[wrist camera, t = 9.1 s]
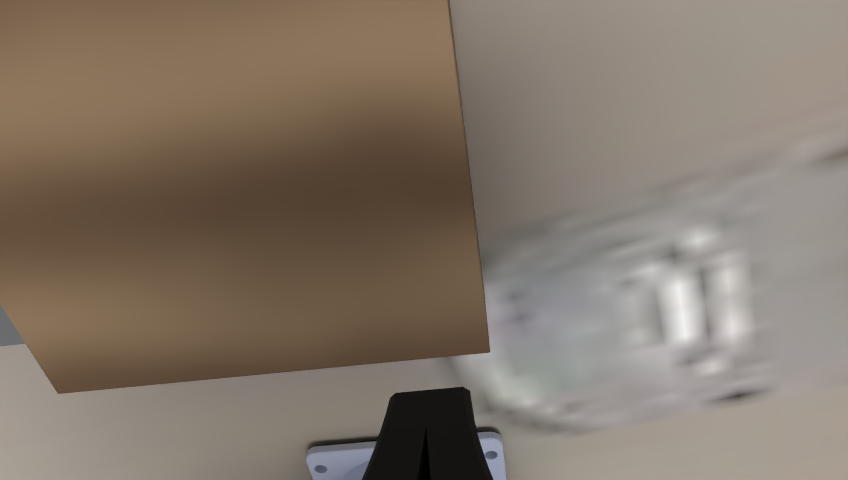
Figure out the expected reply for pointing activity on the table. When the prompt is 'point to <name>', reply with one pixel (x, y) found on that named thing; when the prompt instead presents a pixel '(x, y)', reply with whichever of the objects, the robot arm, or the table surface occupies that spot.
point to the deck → (233, 188)
